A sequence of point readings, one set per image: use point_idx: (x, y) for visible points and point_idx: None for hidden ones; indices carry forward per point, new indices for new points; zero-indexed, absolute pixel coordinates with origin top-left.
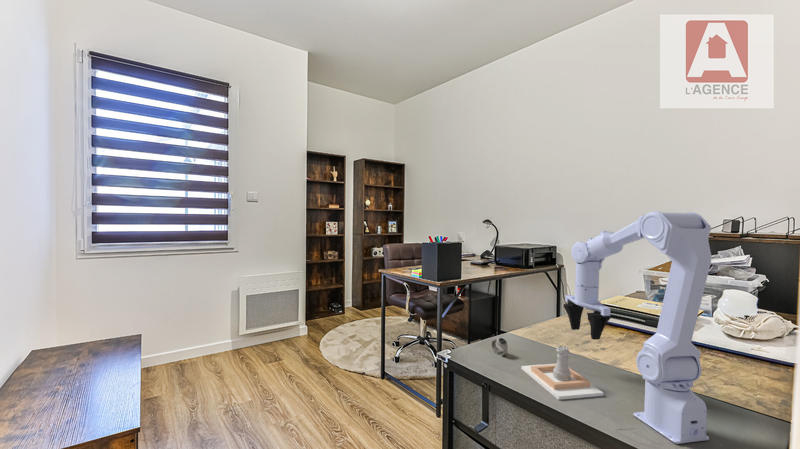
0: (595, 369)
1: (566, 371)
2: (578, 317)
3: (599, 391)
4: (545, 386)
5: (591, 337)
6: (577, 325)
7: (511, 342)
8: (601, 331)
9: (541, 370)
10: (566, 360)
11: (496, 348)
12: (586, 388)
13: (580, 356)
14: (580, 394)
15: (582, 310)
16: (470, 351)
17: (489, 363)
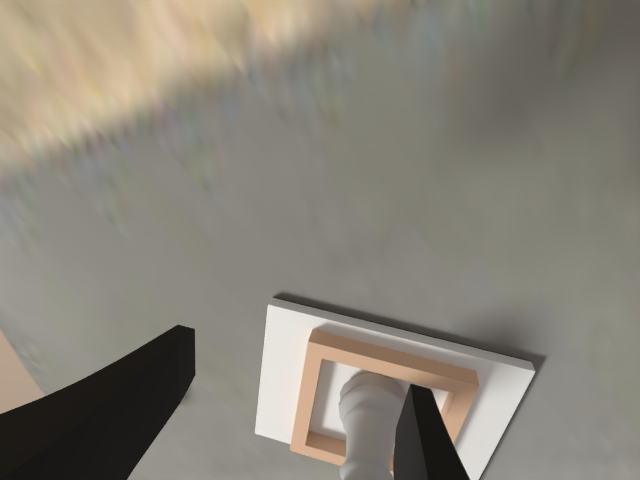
0: (345, 171)
1: None
2: (115, 417)
3: (522, 376)
4: None
5: (397, 442)
6: (173, 366)
7: (29, 287)
8: (450, 454)
9: (311, 420)
10: (389, 469)
11: None
12: (479, 395)
13: (196, 101)
14: (497, 442)
15: (33, 459)
16: None
17: (203, 466)
